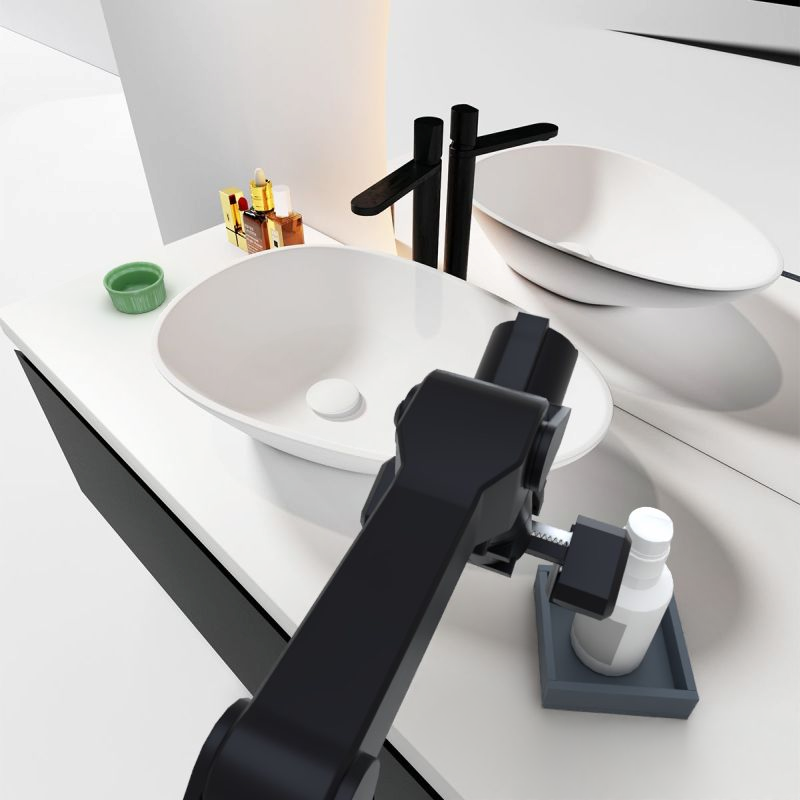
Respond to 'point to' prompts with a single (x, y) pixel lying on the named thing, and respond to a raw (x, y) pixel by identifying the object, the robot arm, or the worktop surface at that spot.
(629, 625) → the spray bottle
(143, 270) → the ramekin
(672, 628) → the bin
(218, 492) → the worktop surface
